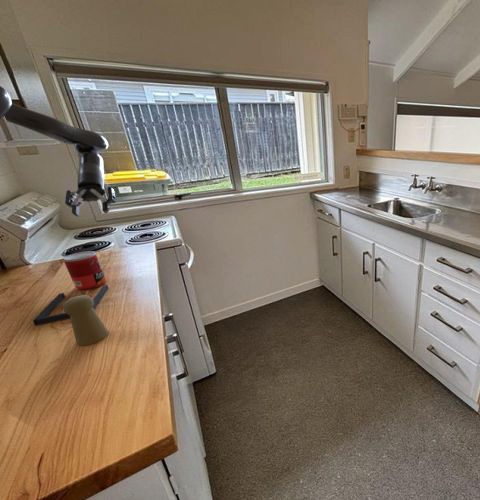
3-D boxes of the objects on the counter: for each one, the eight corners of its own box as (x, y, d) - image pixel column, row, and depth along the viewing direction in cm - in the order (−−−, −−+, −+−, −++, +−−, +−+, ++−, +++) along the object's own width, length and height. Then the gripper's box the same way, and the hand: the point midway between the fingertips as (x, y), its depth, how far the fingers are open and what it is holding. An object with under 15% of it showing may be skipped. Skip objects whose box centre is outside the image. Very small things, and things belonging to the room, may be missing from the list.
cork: (85, 348, 65) (67, 307, 61) (70, 342, 67) (51, 303, 63) (114, 332, 70) (98, 294, 66) (99, 327, 72) (83, 290, 68)
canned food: (104, 286, 94) (92, 256, 90) (73, 293, 90) (59, 261, 86) (109, 277, 100) (97, 249, 96) (79, 283, 97) (66, 254, 93)
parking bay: (34, 325, 74) (32, 320, 74) (61, 297, 88) (59, 293, 87) (92, 313, 79) (90, 308, 78) (108, 288, 93) (107, 284, 92)
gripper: (61, 173, 103) (59, 211, 98) (108, 169, 108) (109, 206, 103) (74, 185, 110) (73, 221, 105) (118, 181, 114) (119, 216, 109)
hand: (91, 213), depth 104 cm, fingers open, 8 cm apart
